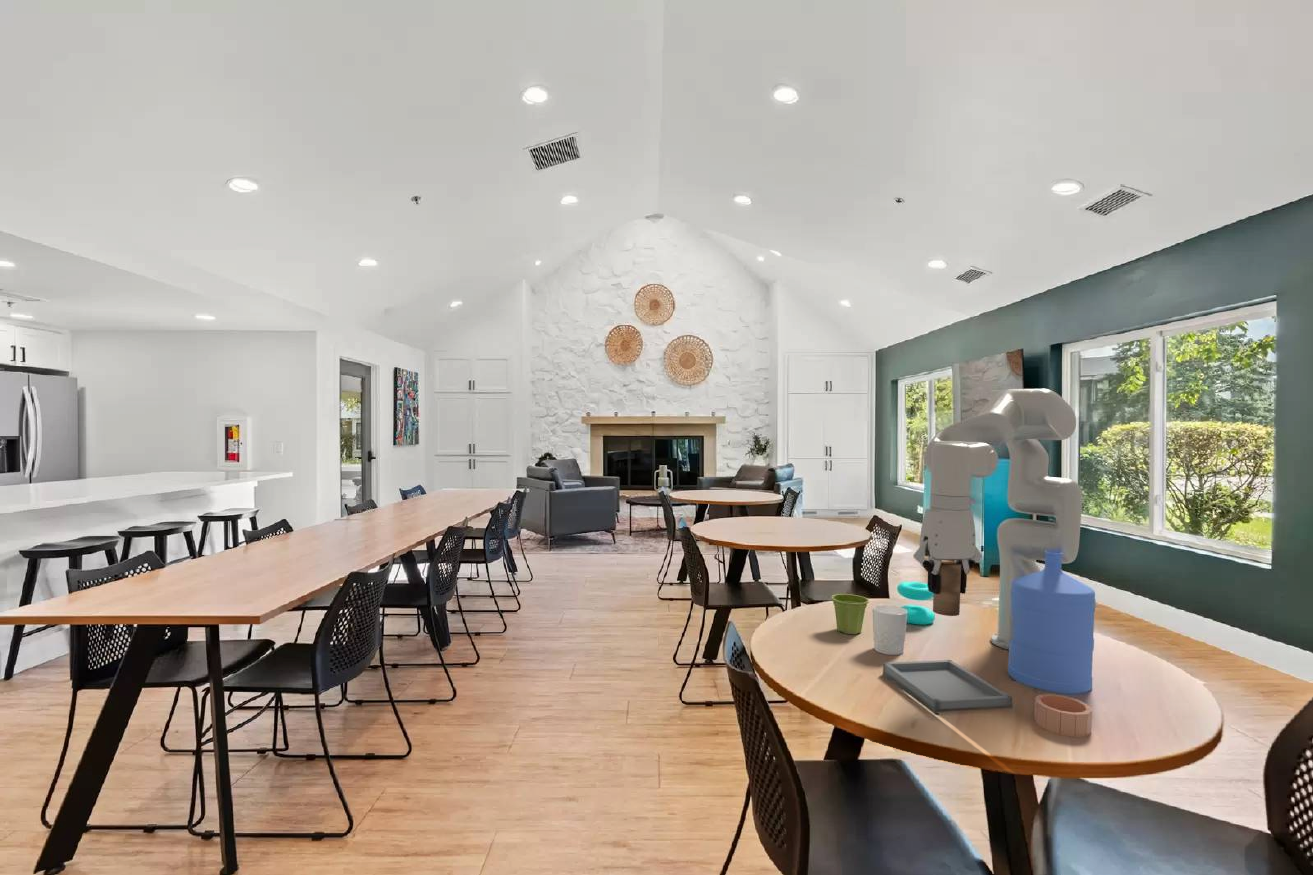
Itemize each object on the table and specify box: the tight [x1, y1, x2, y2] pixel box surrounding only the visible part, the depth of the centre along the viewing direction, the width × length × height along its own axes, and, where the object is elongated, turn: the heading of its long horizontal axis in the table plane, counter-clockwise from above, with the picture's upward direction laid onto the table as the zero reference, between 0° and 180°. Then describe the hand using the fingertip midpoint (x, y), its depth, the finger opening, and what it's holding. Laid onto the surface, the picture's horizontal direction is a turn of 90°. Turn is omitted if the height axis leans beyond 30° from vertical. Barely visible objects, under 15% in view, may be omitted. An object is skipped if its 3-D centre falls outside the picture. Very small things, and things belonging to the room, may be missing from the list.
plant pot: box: [831, 593, 870, 635], centre depth 175 cm, size 9×9×9 cm
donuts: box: [896, 581, 936, 626], centre depth 186 cm, size 10×10×10 cm
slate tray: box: [882, 659, 1013, 715], centre depth 137 cm, size 16×20×2 cm
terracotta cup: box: [1033, 693, 1093, 738], centre depth 121 cm, size 9×9×4 cm
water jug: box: [1007, 551, 1097, 695], centre depth 143 cm, size 16×16×28 cm
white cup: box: [872, 604, 908, 656], centre depth 161 cm, size 8×8×10 cm
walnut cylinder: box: [932, 560, 961, 617], centre depth 136 cm, size 5×5×10 cm
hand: (946, 591), depth 136 cm, fingers closed on walnut cylinder, 5 cm apart
